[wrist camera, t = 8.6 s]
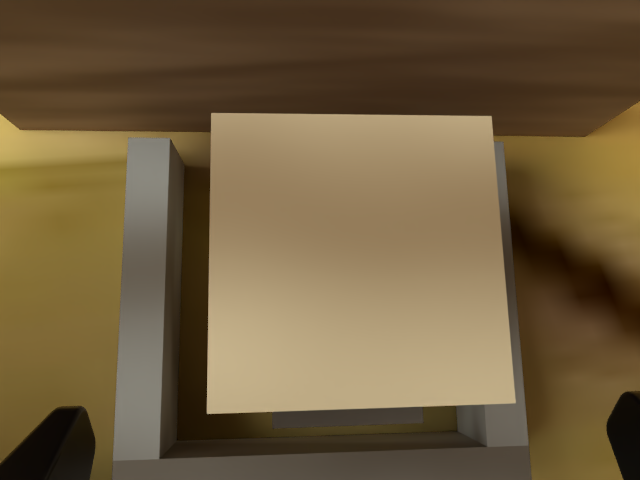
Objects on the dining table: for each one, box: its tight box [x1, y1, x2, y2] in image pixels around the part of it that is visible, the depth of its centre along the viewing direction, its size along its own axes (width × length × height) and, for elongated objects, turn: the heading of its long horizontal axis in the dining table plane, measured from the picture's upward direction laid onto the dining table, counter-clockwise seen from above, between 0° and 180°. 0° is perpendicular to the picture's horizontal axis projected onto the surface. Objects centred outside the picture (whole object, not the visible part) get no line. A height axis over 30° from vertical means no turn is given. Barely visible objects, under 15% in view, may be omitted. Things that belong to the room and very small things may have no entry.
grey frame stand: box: [0, 0, 640, 480], centre depth 13 cm, size 13×20×10 cm, turn 91°
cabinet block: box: [207, 113, 516, 429], centre depth 13 cm, size 6×5×9 cm
